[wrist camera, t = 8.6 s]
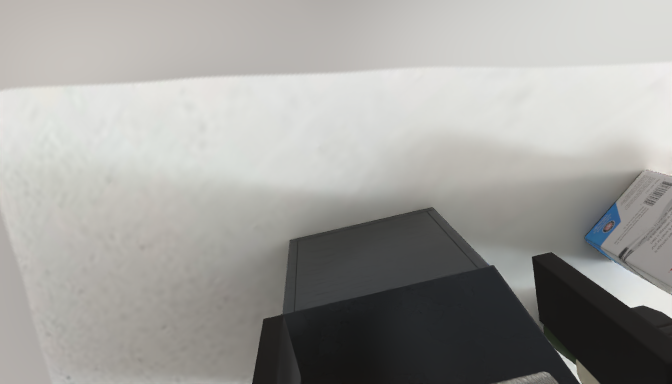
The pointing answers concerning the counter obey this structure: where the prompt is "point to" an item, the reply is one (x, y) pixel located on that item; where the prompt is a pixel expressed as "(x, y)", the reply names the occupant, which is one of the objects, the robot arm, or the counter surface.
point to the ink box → (640, 229)
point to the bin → (374, 258)
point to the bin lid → (426, 336)
